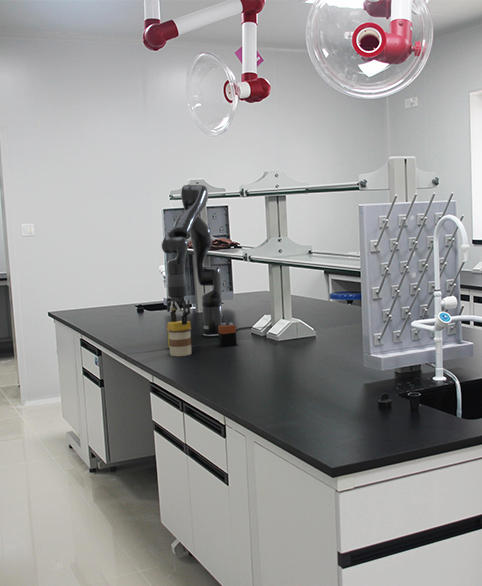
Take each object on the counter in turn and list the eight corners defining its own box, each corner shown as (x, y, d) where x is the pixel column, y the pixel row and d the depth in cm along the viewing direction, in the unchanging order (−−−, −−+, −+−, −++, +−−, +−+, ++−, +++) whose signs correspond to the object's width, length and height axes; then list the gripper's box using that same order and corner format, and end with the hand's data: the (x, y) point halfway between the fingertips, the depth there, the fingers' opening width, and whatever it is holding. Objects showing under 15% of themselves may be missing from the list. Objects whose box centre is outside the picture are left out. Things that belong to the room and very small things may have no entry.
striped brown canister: (184, 350, 301) (183, 326, 300) (197, 353, 294) (195, 328, 293) (164, 354, 295) (163, 329, 294) (176, 357, 288) (175, 332, 286)
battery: (218, 345, 311) (217, 323, 310) (233, 343, 314) (232, 321, 313) (222, 347, 307) (221, 324, 306) (236, 345, 310) (235, 322, 309)
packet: (184, 327, 298) (184, 320, 297) (190, 328, 294) (190, 321, 294) (167, 329, 292) (167, 322, 292) (174, 331, 289) (173, 323, 288)
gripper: (194, 285, 288) (196, 324, 290) (175, 283, 299) (177, 320, 301) (178, 286, 283) (180, 326, 285) (160, 284, 294) (162, 323, 296)
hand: (179, 323), depth 293 cm, fingers open, 8 cm apart
